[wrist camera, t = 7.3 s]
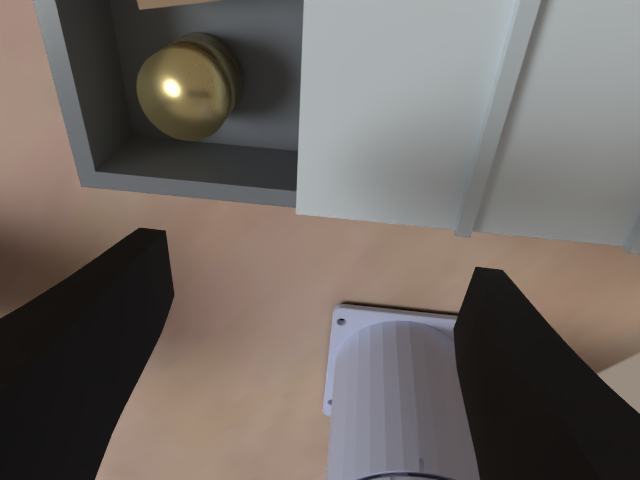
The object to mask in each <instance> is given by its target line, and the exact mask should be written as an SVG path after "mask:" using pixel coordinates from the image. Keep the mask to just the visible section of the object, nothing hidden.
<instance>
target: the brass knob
mask: <svg viewBox="0 0 640 480" xmlns="http://www.w3.org/2000/svg"><path fill="white" fill-rule="evenodd" d="M136 88H137V96H138V100H139V103H140V105H141V108H142V110H143V111H144V113H145V115H146V116H147V118H148V119H149V120H150V121H151V122H152V123H153V124H154V125H155V126H156V127H157V128H158V129H159V130H161V131H162V132H164V133H165V134H167V135H169V136H171V137H173V138H176V139H180V140H185V141H198V140H202V139H205V138H208V137H210V136H211V135H213V134H214V133H216V132H217V131H218V130H219V129H220V127H221V126H222V124H223V123H224V121H225V120H226V119H227V117H228V116H229V114H230V113H231V111H232V110H233V108H234V107H235V105H236V104H237V102H238V101H239V99H240V97H241V95H242V92H243V89H244V73H243V68H242V65H241V63H240V61H239V59H238V57H237V55H236V54H235V52H234V51H233V50H232V49H231V47H229V46H228V45H227V44H226V43H225V42H224V41H222V40H221V39H219V38H218V37H216V36H213V35H211V34H207V33H202V32H192V33H187V34H184V35H182V36H180V37H178V38H177V39H175V40H174V41H172V42H171V43H170V44H168V45H167V46H165V47H164V48H162V49H161V50H159V51H158V52H156V53H155V54H153V55H152V56H151V57H149V58H148V59H147V60H146V61H145V62H144V64H143V65H142V67H141V69H140V71H139V73H138V77H137V86H136Z"/></svg>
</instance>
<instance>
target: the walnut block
mask: <svg viewBox="0 0 640 480" xmlns="http://www.w3.org/2000/svg"><path fill="white" fill-rule="evenodd" d="M212 1H221V0H137V3H138V7H139V10H142V9H151V8H160V7H168V6H177V5H186V4H195V3H203V2H212Z"/></svg>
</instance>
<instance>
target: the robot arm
mask: <svg viewBox="0 0 640 480" xmlns="http://www.w3.org/2000/svg"><path fill="white" fill-rule="evenodd" d="M173 298H174V289H173V282H172V274H171V267H170V260H169V252H168V245H167V237H166V231H165V230H156V229H147V228H138V229H137V230H135V231H134V232H132V233H131V234H129V235H128V236H126V237H125V238H124V239H122V240H121V241H119V242H118V243H117V244H115V245H114V246H112V247H111V248H110V249H108V250H107V251H105V252H104V253H103V254H101V255H100V256H98V257H97V258H95V259H94V260H92V261H91V262H90V263H88V264H87V265H85V266H84V267H82V268H81V269H79V270H78V271H77V272H75V273H74V274H72V275H71V276H69V277H68V278H66V279H65V280H63V281H62V282H60V283H58V284H57V285H55V286H54V287H52V288H50V289H49V290H47V291H46V292H44V293H42V294H41V295H39V296H38V297H36V298H34V299H33V300H31V301H30V302H28V303H26V304H25V305H23V306H21V307H20V308H18V309H16V310H15V311H13V312H11V313H9V314H7V315H6V316H4V317H2V318H0V480H95V478H96V475H97V472H98V470H99V467H100V464H101V462H102V459H103V457H104V454H105V451H106V449H107V446H108V443H109V441H110V438H111V436H112V433H113V431H114V429H115V426H116V424H117V422H118V420H119V418H120V415H121V413H122V411H123V409H124V407H125V405H126V403H127V401H128V399H129V397H130V395H131V393H132V391H133V389H134V387H135V386H136V384H137V382H138V380H139V378H140V376H141V374H142V372H143V370H144V368H145V366H146V364H147V362H148V360H149V358H150V356H151V354H152V351H153V349H154V347H155V345H156V343H157V341H158V339H159V337H160V335H161V333H162V330H163V327H164V325H165V322H166V319H167V316H168V313H169V310H170V307H171V304H172V301H173ZM339 319H345V320H339ZM323 413H324V414H325V415H327V416H331V420H330V433H329V446H328V459H327V471H326V480H640V414H639V413H638V412H637V411H636V410H635V409H634V408H632V407H631V406H630V405H629V404H628V403H627V402H626V401H625V400H623V399H622V398H621V397H620V396H619V395H618V394H617V393H616V392H614V391H613V390H612V389H611V388H610V387H609V386H608V385H607V384H606V383H605V382H604V381H603V380H602V379H601V378H600V377H599V376H598V375H597V374H596V373H595V372H594V371H593V370H592V369H591V368H590V367H589V366H588V365H587V364H586V363H585V362H584V361H583V360H582V359H581V358H580V357H579V356H578V355H577V354H576V353H575V352H574V351H573V350H572V349H571V348H570V347H569V346H568V344H567V343H566V342H565V341H564V340H563V339H562V338H561V337H560V336H559V335H558V334H557V332H556V331H555V330H554V329H553V328H552V327H551V326H550V325H549V323H548V322H547V321H546V320H545V319H544V318H543V317H542V315H541V314H540V313H539V312H538V311H537V310H536V308H535V307H534V306H533V305H532V304H531V303H530V301H529V300H528V299H527V298H526V297H525V296H524V294H523V293H522V292H521V291H520V290H519V288H518V287H517V286H516V285H515V284H514V283H513V281H512V280H511V279H510V278H509V277H508V276H507V275H506V273H505V272H504V271H503V270H499V269H490V268H482V267H475V270H474V273H473V276H472V278H471V281H470V284H469V287H468V289H467V292H466V295H465V298H464V300H463V303H462V306H461V309H460V311H459V314H458V316H453V315H443V314H434V313H425V312H415V311H406V310H396V309H387V308H377V307H368V306H358V305H349V304H339V305H336V306H335V307H334V310H333V318H332V328H331V337H330V346H329V356H328V365H327V375H326V384H325V393H324V403H323Z"/></svg>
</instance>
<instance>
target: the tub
mask: <svg viewBox="0 0 640 480" xmlns="http://www.w3.org/2000/svg"><path fill="white" fill-rule="evenodd" d="M33 3H34V7H35V11H36V15H37V19H38V23H39V26H40V30H41V34H42V38H43V42H44V46H45V49H46V53H47V57H48V61H49V65H50V69H51V73H52V76H53V80H54V84H55V88H56V92H57V96H58V99H59V103H60V107H61V111H62V115H63V119H64V123H65V126H66V130H67V134H68V138H69V142H70V146H71V149H72V153H73V157H74V161H75V165H76V169H77V173H78V176H79V180H80V184H81V187H90V188H100V189H111V190H121V191H131V192H141V193H151V194H161V195H171V196H182V197H192V198H202V199H212V200H222V201H232V202H242V203H253V204H263V205H273V206H283V207H293V208H296V194H297V168H298V142H299V115H300V89H301V63H302V36H303V10H304V0H221V1H212V2H203V3H195V4H186V5H177V6H168V7H160V8H151V9H142V10H139V7H138V3H137V0H33ZM192 32H202V33H207V34H211V35H213V36H216V37H218V38H219V39H221V40H222V41H224V42H225V43H226V44H227V45H228V46H229V47H231V49H232V50H233V51H234V52H235V54H236V55H237V57H238V59H239V61H240V63H241V65H242V68H243V73H244V89H243V92H242V95H241V97H240V99H239V101H238V102H237V104H236V105H235V107H234V108H233V110H232V111H231V113H230V114H229V116H228V117H227V119H226V120H225V121H224V123H223V124H222V126H221V127H220V129H219V130H218V131H217V132H216V133H214V134H213V135H211V136H210V137H208V138H205V139H202V140H198V141H185V140H180V139H176V138H173V137H171V136H169V135H167V134H165V133H164V132H162V131H161V130H159V129H158V128H157V127H156V126H155V125H154V124H153V123H152V122H151V121H150V120H149V119H148V118H147V116H146V115H145V113H144V111H143V110H142V108H141V105H140V103H139V100H138V96H137V88H136V86H137V77H138V73H139V71H140V69H141V67H142V65H143V64H144V62H145V61H146V60H147V59H148V58H149V57H151V56H152V55H153V54H155V53H156V52H158V51H159V50H161V49H162V48H164V47H165V46H167V45H168V44H170V43H171V42H172V41H174V40H175V39H177V38H178V37H180V36H182V35H184V34H187V33H192Z"/></svg>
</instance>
